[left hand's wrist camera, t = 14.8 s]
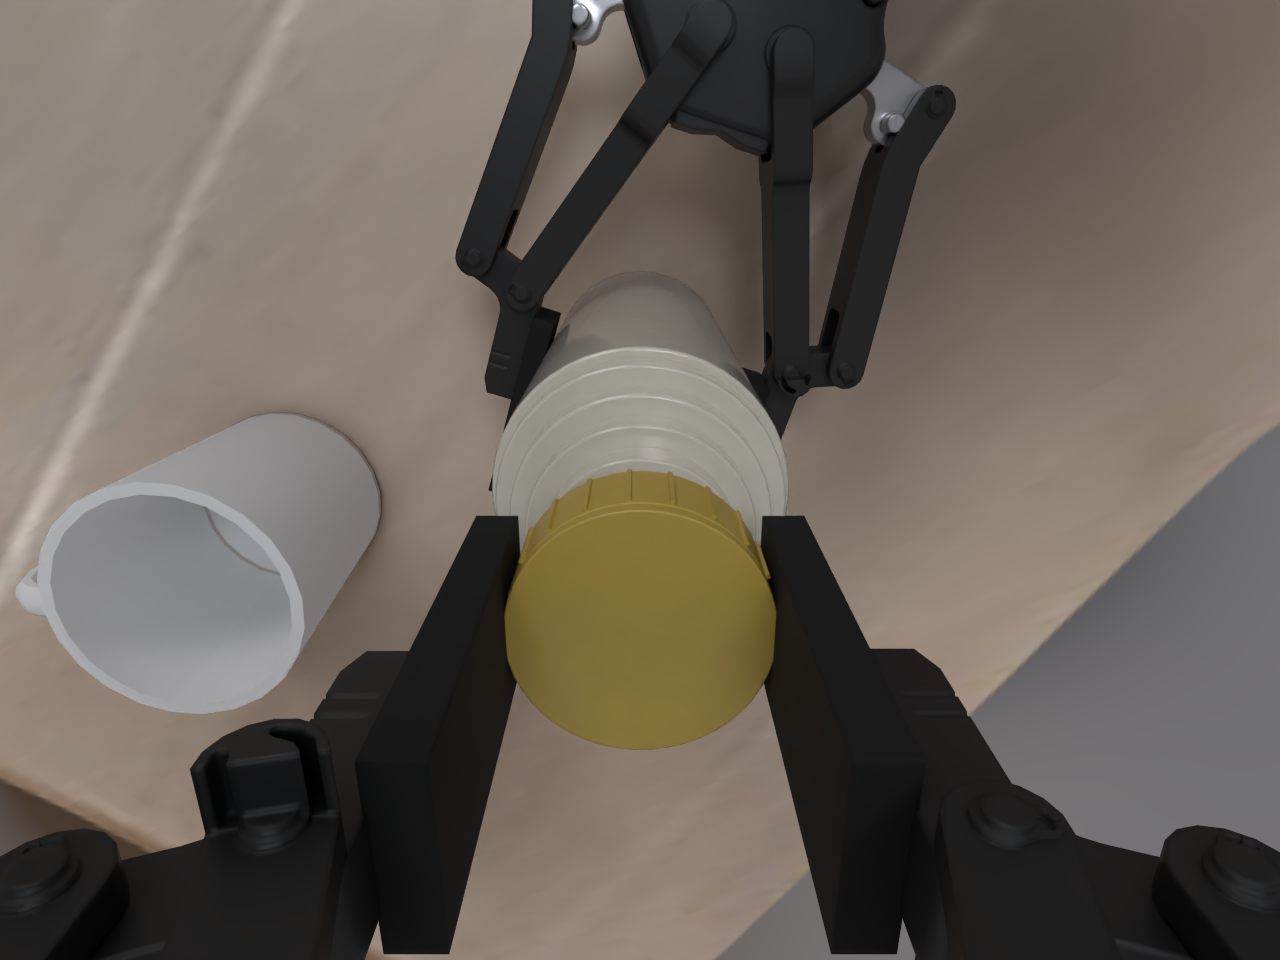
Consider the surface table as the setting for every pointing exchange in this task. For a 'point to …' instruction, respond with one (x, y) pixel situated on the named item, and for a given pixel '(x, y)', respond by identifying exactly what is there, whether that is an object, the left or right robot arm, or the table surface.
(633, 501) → the cap
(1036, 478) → the table surface
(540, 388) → the bottle
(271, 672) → the mug
